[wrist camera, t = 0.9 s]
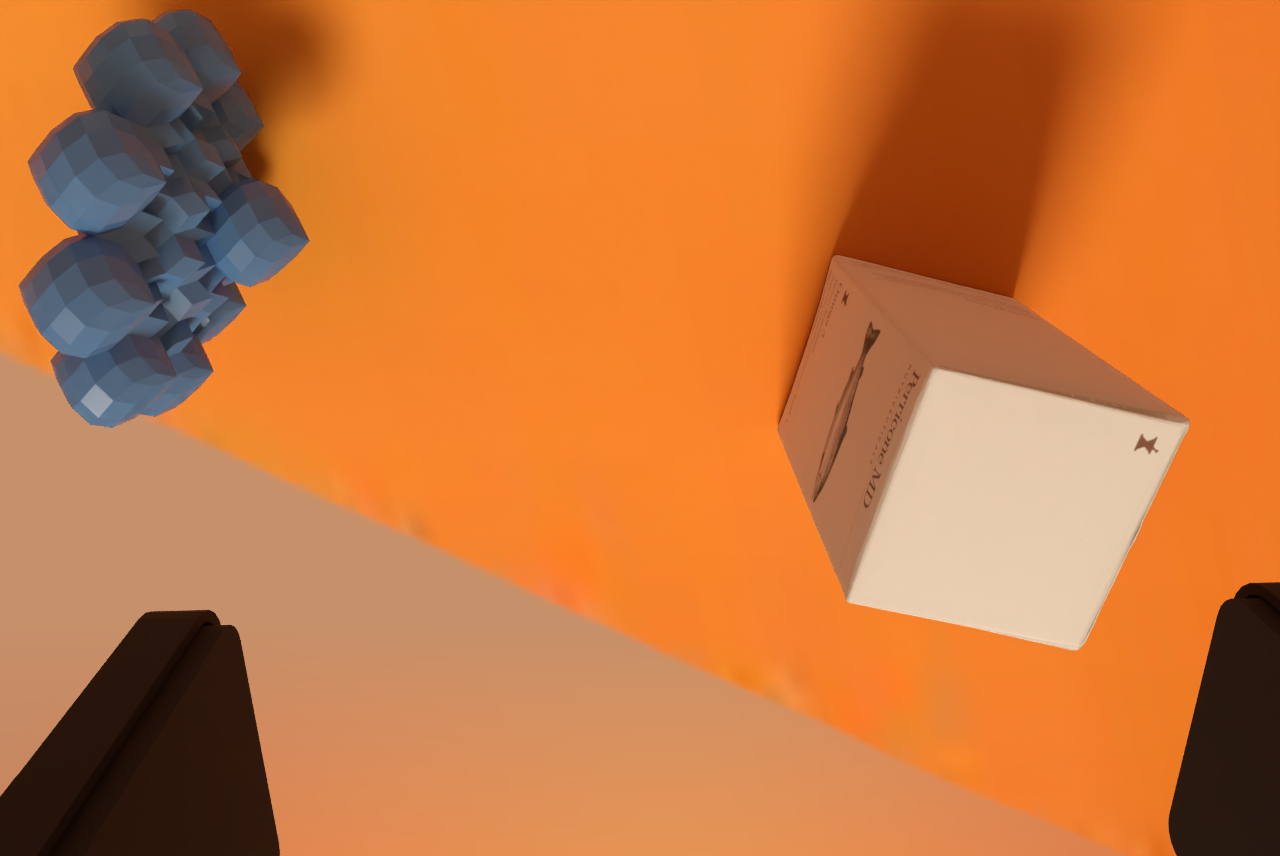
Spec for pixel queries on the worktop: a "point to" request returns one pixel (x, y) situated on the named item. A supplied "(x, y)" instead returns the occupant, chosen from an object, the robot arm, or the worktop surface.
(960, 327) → the supplement box
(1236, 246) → the worktop surface
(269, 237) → the grapes
